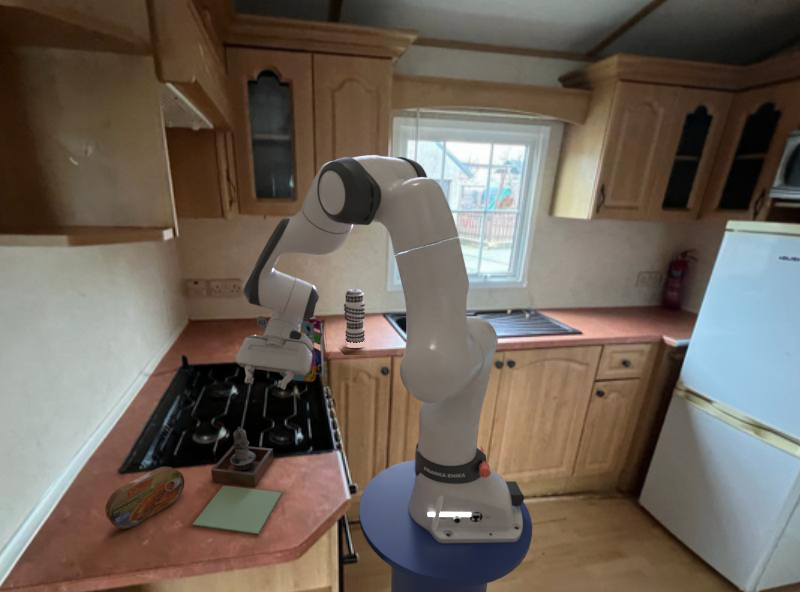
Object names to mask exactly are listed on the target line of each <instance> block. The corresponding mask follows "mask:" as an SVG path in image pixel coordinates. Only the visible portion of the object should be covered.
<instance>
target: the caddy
mask: <svg viewBox="0 0 800 592" xmlns="http://www.w3.org/2000/svg"><path fill="white" fill-rule="evenodd" d="M248 450H249V451H252V452H254V453H255V455H256V458H255V460H256V461H260V462H259V463H258V464H257V465H256V466H255V467H256V469H255V470H254V471H253V473H250V472H241V471H233V470H231V469H228V468H229V467H230V466H231V465H232V463H231V462H230V458H231V457H232V456H233V455H234V454H235V448H234V447H233V445H231V447H230V448H229V449H228V450H227V451H226V452H225V454H224V455H223V456H222V457H221V458H220V459H219V460H218V461H217V462H216V464H215V465H214V466H213V467H212V468H211V470H210V473H211V479H212V483H219V484H228V485H236V486H244V487H245V486H246V487H253V488H257V486H258V485H259V482H261V480H262V478H263V477H264V476H265V474H266V472H267V471H268V469H269V468H270V466H271V465H272V463H273V462H274V461H275V456H274V448H269V447H258V446H257V447H256V446H250V445H248Z"/></svg>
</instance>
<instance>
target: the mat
mask: <svg viewBox="0 0 800 592" xmlns="http://www.w3.org/2000/svg"><path fill="white" fill-rule="evenodd" d="M281 496H282V492H280V491H274V490H265V489H256V488H249V487H239V486H231V485H222V486H221V487H220V488H219V490H218V491H217V492H216V494H215V495H214V496H213V497H212V499H211V500H210V501H209V503H208V504H207V505H206V506H205V508H204V509H203V510H202V511H201V513H200V514H199V515H198V516H197V518H196V519H195V520H194V522H193V523H192V526H195V527H201V528H209V529H215V530H223V531H230V532H237V533H245V534H251V535H259V534H260V533H261V531H262V529H263V528H264V526H265V524H266V522H267V520H268V518H269V517H270V515H271V513H272V511H273V510H274V508H275V507H276V505H277V504H278V503H277V502H278V501H279V499H280V498H281Z"/></svg>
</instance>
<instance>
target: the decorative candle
mask: <svg viewBox="0 0 800 592" xmlns="http://www.w3.org/2000/svg"><path fill="white" fill-rule="evenodd" d="M364 295H365V294H364V292H363V291H362V290H361V289H358V288H357V289H356V288H354V289H348V290H347V291H346V292H345V293H344V296H345V301H344V304H343V307H344V308H343V310H344V321H345V323H346V325H345V342H346V341H347V342H350V343H351V342H353V343H358V342H359V343H360V342H363V341H364V342H365V339H366V337H365V326H364V322H365V316H364V315H365V314H366V312H365V311H366V308H365V306H366V303H364Z"/></svg>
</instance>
